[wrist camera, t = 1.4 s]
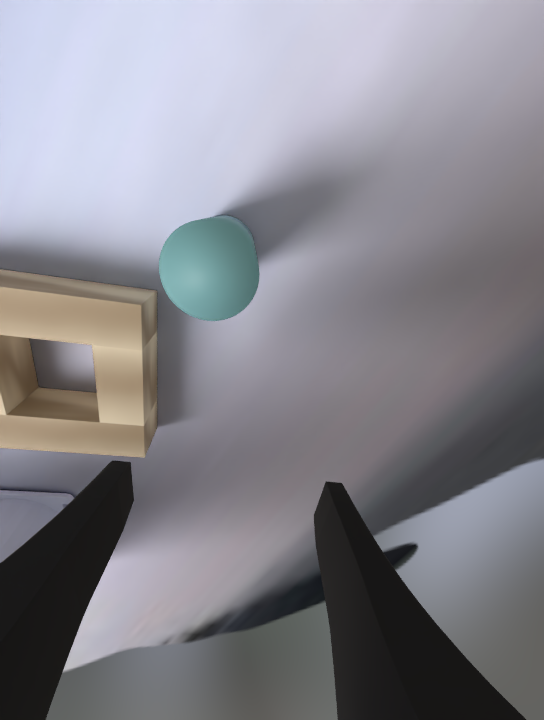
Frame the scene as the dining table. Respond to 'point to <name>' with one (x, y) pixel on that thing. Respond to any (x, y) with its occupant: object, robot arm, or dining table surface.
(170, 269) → the dowel
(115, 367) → the light wooden square frame
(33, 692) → the robot arm
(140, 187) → the dining table surface
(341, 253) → the dining table surface
